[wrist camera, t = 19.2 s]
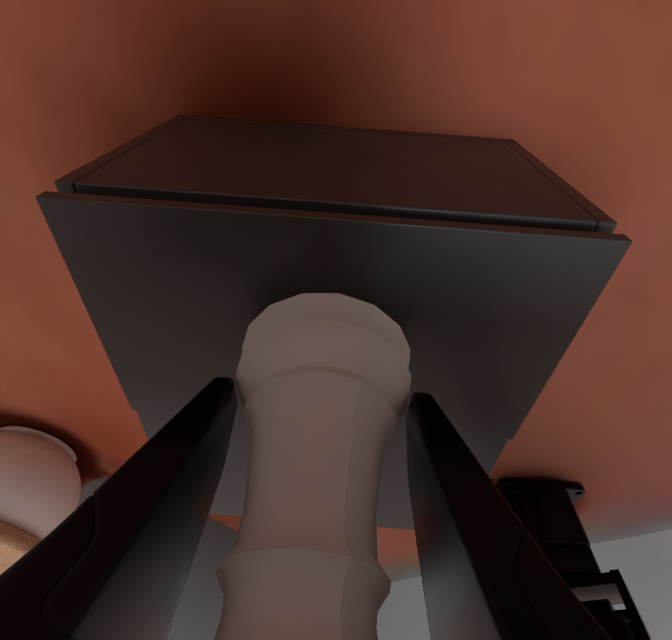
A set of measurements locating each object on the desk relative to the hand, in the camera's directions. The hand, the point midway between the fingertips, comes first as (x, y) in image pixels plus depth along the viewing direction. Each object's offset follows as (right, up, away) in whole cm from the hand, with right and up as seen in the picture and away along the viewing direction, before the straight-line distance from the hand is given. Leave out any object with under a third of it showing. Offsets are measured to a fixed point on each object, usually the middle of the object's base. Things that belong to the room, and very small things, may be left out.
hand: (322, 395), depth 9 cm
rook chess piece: (0, +1, +1) cm, 2 cm away
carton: (0, +3, +10) cm, 10 cm away
